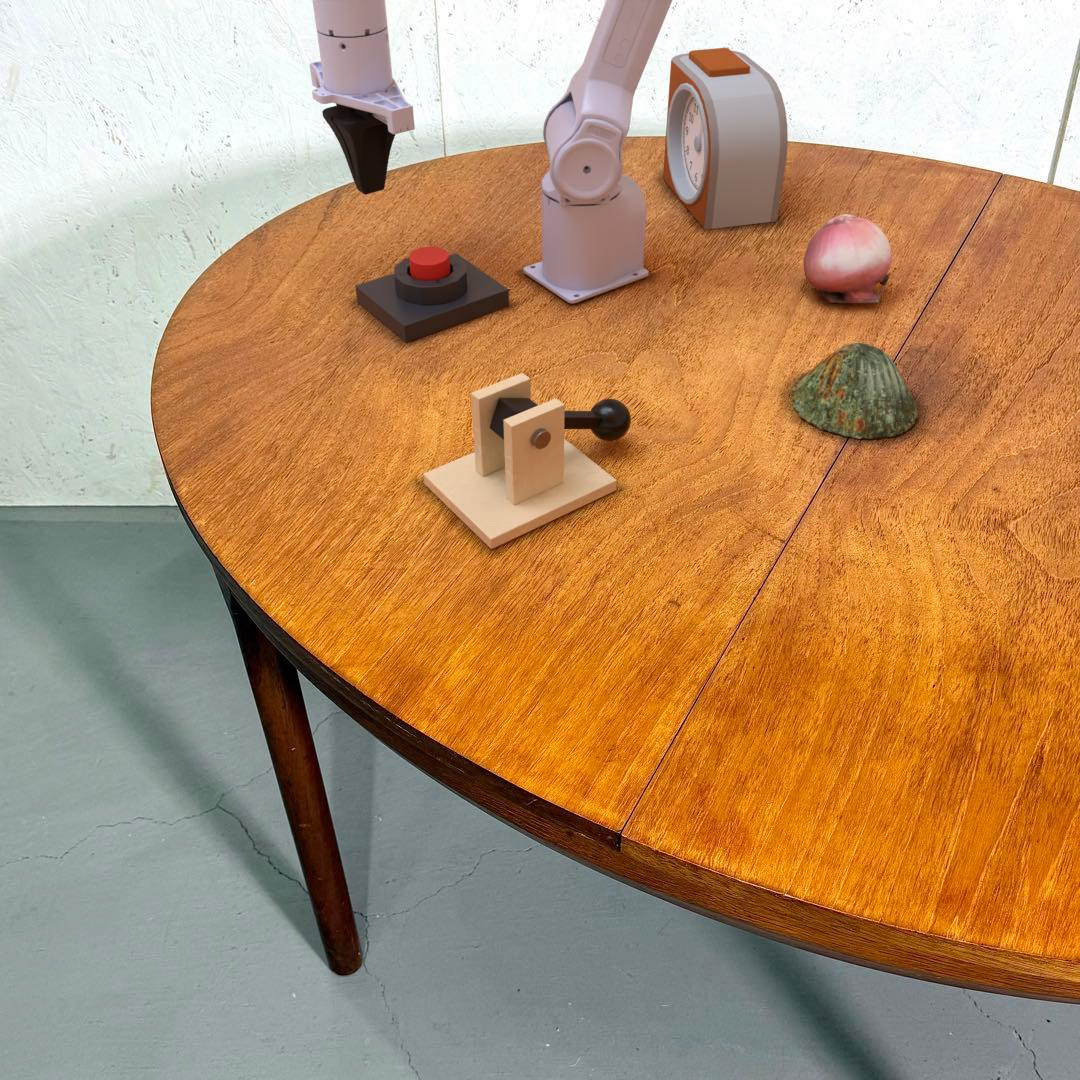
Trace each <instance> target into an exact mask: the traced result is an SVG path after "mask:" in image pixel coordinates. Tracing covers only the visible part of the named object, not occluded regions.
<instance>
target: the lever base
mask: <svg viewBox="0 0 1080 1080" xmlns="http://www.w3.org/2000/svg"><path fill="white" fill-rule="evenodd" d="M531 387H532V386H531V378H530V377H529V376H528V375H527V374H525V373H524V372H521V373H518V374H516V375H513V376H510V377H507V378H506V379H503V380H500V381H498V382H496V383H493V384H490V385H488V386H485V387H482V388H480V389H478V390H475V391H473V392H471V394H470V396H471V413H472V431H473V447H474V449H473V450H474V451H473V452H471V453H469V454H466V455H464V456H461V457H459V458H457V459H454V460H452V461H450V462H447V463H445V464H442V465H440V466H437V467H436V468H433V469H430V470H428V471H426V472H424V473H423V475H422V476H423V485H424V486H426V487H427V488H428V489H429V490H430V491H431V492H432V493H433V494H434V495H435V497H437V498H438V499H439V500H440V501H441V502H442V503H443V504H444V505H445V506H447V508H448V509H450V511H451V512H452V513H453V514H454V515H455V516H456V517H458V518H459V520H461V522H463V524H465V525H466V526H467V527H468V528H469V529H470V530H471V531H472V532H473V533H474V534H475V535H476V536H477V538H479V539H480V540H481V541H482V542H483V543H484V544H485V545H486V546H487V547H488V548H489V549H490V550H493V549H495V548H498V547H500V546H502V545H504V544H506V543H508V542H510V541H512V540H514V539H516V538H518V537H521V536H523V535H525V534H527V533H529V532H532V531H534V530H536V529H537V528H538V529H539V528H540V527H542V526H544V525H546V524H548V523H551V522H552V521H554V520H556V519H559V518H560V517H563V516H565V515H567V514H569V513H571V512H573V511H576V510H578V509H579V508H582V507H584V506H586V505H588V504H590V503H593V502H595V501H597V500H598V499H601V498H603V497H605V496H607V495H610V494H611V493H614V492H615V491H617V479H616V478H615V477H613V476H612V475H611V474H609V473H608V472H607V471H606V470H604V468H602V467H601V466H600V465H598V464H597V463H596V462H595V461H593V460H592V459H591V458H589V456H587V455H586V454H585V453H584V452H582V451H581V450H580V449H578V448H577V447H576V446H575V445H574V444H573V443H571V442H570V441H568V440H567V439H566V438H565V429H564V411H565V410H566V409H565V406H566V405H565V403H563V402H562V401H561V400H559V399H558V398H557V397H555V398H553V399H550V400H548V401H546V402H543V403H540V404H537V405H538V406H536V407H533V408H531V409H528V410H526V411H524V412H521V413H519V414H516V415H514V416H512V417H509V418H507V419H504V420H503V421H504V440H503V439H502V438H501V437H499V436H498V435H497V434H496V433H495V432H494V431H492V430H491V429H490V428H489V427H490V424H491V421H492V418H493V414H494V411H495V408H496V405H497V402H498V399H499V398H529V399H531V400H532V394H531V393H532V392H531V391H532V390H531Z"/></svg>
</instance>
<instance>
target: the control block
mask: <svg viewBox="0 0 1080 1080" xmlns="http://www.w3.org/2000/svg"><path fill="white" fill-rule="evenodd" d="M449 261H450V275H449V276H448V277H445V278H442V279H439V280H433V281H422V280H418V279H413V278H412V277H411V274H410V264H409V256H408V257H405V258H404V259H402V260H401V261H399V262H398V263H397V264H396V265H395V266H394V268H393V273H391V274H388V275H384V276H381V277H378V278H375V279H372V280H368V281H365V282H363V283H360V284H357V285H355V295H356V302H357V303H358V304H359V305H360V306H361V307H363V308H364V309H365V310H366V311H367V312H368V313H370V314H371V315H372V316H374V318H376V319H377V320H378V321H380V322H381V323H382V324H383V325H384V326H385V327H386V328H388V329H389V330H390V331H391V332H393V333H394V334H395V335H396V336H397V337H398V338H400V339H401V340H402V341H403V342H404V343H406V344H407V343H409V342H413V341H415V340H418V339H420V338H424V337H426V336H429V335H431V334H435V333H437V332H440V331H443V330H446V329H448V328H452V327H454V326H456V325H457V326H458V325H460V324H463V323H465V322H468V321H471V320H474V319H476V318H478V317H482V316H485V315H488V314H490V313H493V312H496V311H498V310H501V309H505V308H507V307H510V291H509V288H507V287H506V286H504V285H502V284H501V282H498V281H497V280H496V279H494V278H493V277H491V276H490V275H489V274H487V273H486V272H485V271H483V270H481V269H480V268H479V267H477V266H476V265H474V264H473V263H471V262H470V261H468V260H467V259H465V258H464V257H462V256H461V255H460V254H459V253H452V254H449Z"/></svg>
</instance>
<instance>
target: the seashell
mask: <svg viewBox="0 0 1080 1080" xmlns="http://www.w3.org/2000/svg"><path fill="white" fill-rule="evenodd" d="M790 392H791V393H792V394H793V395H792V397H791V399H792V400H793V404H792V407H793V409H794V410H795V411H796V412H798V417H800V419H803V420H805V421H806V422H807V423H809V424H810V425H812V426H814V427H816V428H817V429H819V430H821V431H828V432H829V433H832V434H836V435H842V436H843V437H846V438H849V437H850V438H854V439H857V440H860V439H867V440H874V439H884V438H895V437H896V436H899V435H902V434H903V433H905V432H907V431H908V430H910V429H911V428H912V427H913V426H914V425H915V424H916V421H917V419H918V417H919V412H918V408H917V403H916V400H915V398H914V395H913V394H912V393H911V392H910V391H909V390H908V388H907V387H906V384H905V382H904V379H903V378H902V375H901V374H900V371H899V369H898V367H897V366H896V364H895V363H894V361H893V360H892V359H891V357H890V356H889V355H888V354H886V352H884V351H883V349H880V348H878V347H876V346H875V345H873V344H868V343H865V342H852V343H848V344H845V345H842V346H841V347H839V348H837V349H836V350H834V351H833V352H831V353H830V354H828V355H827V356H826V357H825V358H823V360H821V361H820V362H819V363H817V365H815V366H814V367H813V368H812V369H810V370H809V371H806V372H805V373H803V374H802V375H799V377H798V378H797V379H796V380H795V381H794V386H793V388H792V389H791V391H790Z"/></svg>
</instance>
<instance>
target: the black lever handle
mask: <svg viewBox="0 0 1080 1080" xmlns="http://www.w3.org/2000/svg"><path fill="white" fill-rule="evenodd" d="M538 405H539V404H537V403H536V402H535V401H534V400H532V398H531V399H529V398H499V399H498V402H497V405H496V408H495V411H494V414H493V418H492V421H491V424H490V427H489V428H490V429H491V430H492V431H494V432H495V433H496V434H497V435H498V436H499V437H501V438H502V439H503V440H504V421H503V420H504V419H507V418H509V417H512V416H514V415H516V414H519V413H521V412H524V411H526V410H528V409H531V408H533V407H536V406H538ZM631 423H632V416H631V412H630V410H629V408H628V407H627V406H626V405H625V403H624V402H622V401H621V400H618V399H616V398H604V399H601V400H599V401H597V402H596V403H595V404H594V405H593V406H592V407H591V409H590V410H564V430H590V431H591V433H592V434H593V436H595V437H596V438H597V439H599V440H601V441H604V442H615V441H619V440H620V439H622V438H623V437H625V435H626V434H627V433H628V432H629V430H630V427H631Z"/></svg>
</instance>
